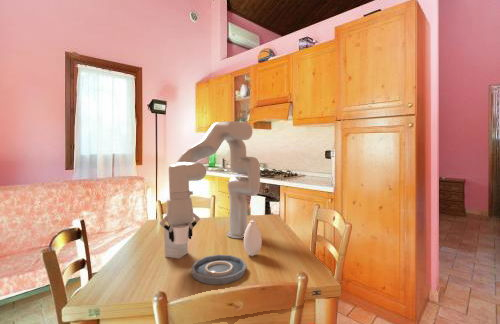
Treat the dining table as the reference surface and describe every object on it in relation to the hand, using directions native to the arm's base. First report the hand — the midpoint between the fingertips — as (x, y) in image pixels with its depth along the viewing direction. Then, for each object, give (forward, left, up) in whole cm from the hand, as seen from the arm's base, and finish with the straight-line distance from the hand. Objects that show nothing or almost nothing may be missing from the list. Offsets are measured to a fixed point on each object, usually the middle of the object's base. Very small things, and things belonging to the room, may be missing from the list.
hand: (180, 239), depth 108 cm
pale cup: (0, 0, -1) cm, 1 cm away
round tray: (-12, +11, -11) cm, 20 cm away
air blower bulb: (-30, +2, -11) cm, 32 cm away
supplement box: (0, -11, -11) cm, 16 cm away
